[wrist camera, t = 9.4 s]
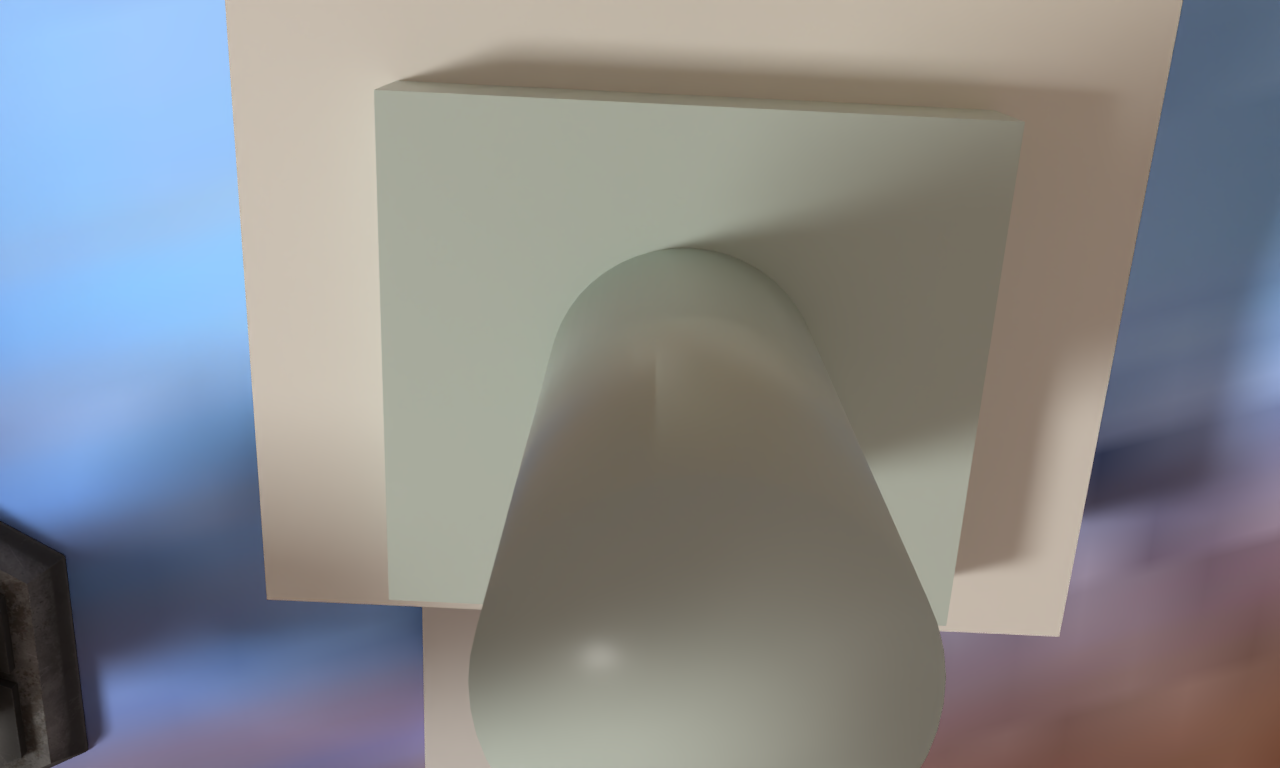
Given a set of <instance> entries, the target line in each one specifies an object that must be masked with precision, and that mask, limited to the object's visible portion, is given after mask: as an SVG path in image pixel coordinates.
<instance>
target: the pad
mask: <svg viewBox="0 0 1280 768" xmlns="http://www.w3.org/2000/svg"><path fill="white" fill-rule="evenodd" d="M480 613H481V610H479V609H458V608H436V607H422V620H423V674H424V728H425V768H491V766H490V765H489V763H488V761H487V760H486V757H485V755H484V752H483V750H482V747H481V745H480V742H479V740H478V737H477V735H476V731H475V727H474V722H473V718H472V714H471V709H470V699H469V686H468V677H469V664H470V654H471V649H472V645H473V641H474V636H475V632H476V628H477V624H478V620H479V617H480Z"/></svg>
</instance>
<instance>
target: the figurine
mask: <svg viewBox="0 0 1280 768" xmlns="http://www.w3.org/2000/svg"><path fill="white" fill-rule="evenodd" d="M87 750H88V744H87V736H86V727H85V719H84V710H83V702H82V694H81V685H80V677H79V668H78V660H77V652H76V643H75V635H74V626H73V618H72V609H71V601H70V593H69V584H68V576H67V567H66V559H65V556H64V555H62V554H61V553H59V552H57V551H55V550H53V549H51V548H49V547H48V546H46V545H44V544H42V543H40V542H38V541H36V540H35V539H33V538H31V537H29V536H27V535H25V534H23V533H22V532H20V531H18V530H16V529H14V528H12V527H10V526H9V525H7V524H5V523H3V522H1V521H0V768H51V767H53V766H55V765H57V764H60V763H62V762H64V761H66V760H68V759H71V758H73V757H75V756H77V755H80V754H82V753H84V752H86V751H87Z"/></svg>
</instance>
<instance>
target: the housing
mask: <svg viewBox="0 0 1280 768" xmlns="http://www.w3.org/2000/svg"><path fill="white" fill-rule="evenodd" d="M1182 2H1183V0H225V6H226V20H227V35H228V49H229V63H230V78H231V92H232V106H233V121H234V135H235V149H236V164H237V178H238V192H239V206H240V221H241V235H242V249H243V264H244V278H245V292H246V307H247V321H248V335H249V350H250V364H251V378H252V393H253V407H254V421H255V436H256V450H257V464H258V479H259V493H260V507H261V522H262V536H263V550H264V565H265V579H266V593H267V600H287V601H308V602H330V603H351V604H372V605H394V606H415V607H436V608H458V609H479V610H481V609H482V606H483V604H467V603H446V602H425V601H403V600H389V584H388V550H387V516H386V482H385V448H384V414H383V380H382V346H381V312H380V278H379V244H378V210H377V176H376V142H375V108H374V90H375V89H377V88H380V87H382V86H384V85H387V84H389V83H392V82H394V81H416V82H437V83H457V84H477V85H497V86H518V87H538V88H558V89H578V90H599V91H619V92H639V93H659V94H679V95H700V96H720V97H740V98H760V99H781V100H801V101H821V102H841V103H861V104H882V105H902V106H922V107H942V108H963V109H983V110H996V111H998V112H1001V113H1003V114H1006V115H1009V116H1011V117H1014V118H1016V119H1019V120H1021V121H1024V122H1025V125H1024V131H1023V138H1022V144H1021V151H1020V157H1019V163H1018V170H1017V176H1016V183H1015V189H1014V195H1013V202H1012V208H1011V215H1010V221H1009V227H1008V234H1007V240H1006V247H1005V253H1004V259H1003V266H1002V272H1001V279H1000V285H999V291H998V298H997V304H996V311H995V317H994V323H993V330H992V336H991V343H990V349H989V355H988V362H987V368H986V375H985V381H984V387H983V394H982V400H981V407H980V413H979V419H978V426H977V432H976V439H975V445H974V451H973V458H972V464H971V471H970V477H969V483H968V490H967V496H966V503H965V509H964V515H963V522H962V528H961V535H960V541H959V547H958V554H957V560H956V567H955V573H954V579H953V586H952V592H951V599H950V605H949V611H948V618H947V624H946V626H938V627H939V631H950V632H971V633H992V634H1014V635H1035V636H1056V637H1059V634H1060V629H1061V624H1062V619H1063V614H1064V609H1065V604H1066V598H1067V593H1068V588H1069V583H1070V578H1071V573H1072V568H1073V562H1074V557H1075V552H1076V547H1077V542H1078V537H1079V532H1080V527H1081V521H1082V516H1083V511H1084V506H1085V501H1086V496H1087V491H1088V485H1089V480H1090V475H1091V470H1092V465H1093V460H1094V455H1095V449H1096V444H1097V439H1098V434H1099V429H1100V424H1101V419H1102V413H1103V408H1104V403H1105V398H1106V393H1107V388H1108V383H1109V378H1110V372H1111V367H1112V362H1113V357H1114V352H1115V347H1116V342H1117V336H1118V331H1119V326H1120V321H1121V316H1122V311H1123V306H1124V300H1125V295H1126V290H1127V285H1128V280H1129V275H1130V270H1131V264H1132V259H1133V254H1134V249H1135V244H1136V239H1137V234H1138V229H1139V223H1140V218H1141V213H1142V208H1143V203H1144V198H1145V193H1146V187H1147V182H1148V177H1149V172H1150V167H1151V162H1152V157H1153V151H1154V146H1155V141H1156V136H1157V131H1158V126H1159V121H1160V115H1161V110H1162V105H1163V100H1164V95H1165V90H1166V85H1167V80H1168V74H1169V69H1170V64H1171V59H1172V54H1173V49H1174V44H1175V38H1176V33H1177V28H1178V23H1179V18H1180V13H1181V8H1182Z"/></svg>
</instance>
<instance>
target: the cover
mask: <svg viewBox="0 0 1280 768" xmlns="http://www.w3.org/2000/svg"><path fill="white" fill-rule="evenodd" d="M374 108H375V142H376V176H377V210H378V244H379V278H380V312H381V346H382V380H383V414H384V448H385V482H386V516H387V550H388V584H389V600H403V601H425V602H446V603H467V604H483V606H482V609H481V613H480V617H479V620H478V624H477V628H476V632H475V636H474V641H473V645H472V649H471V654H470V664H469V677H468V686H469V699H470V709H471V714H472V718H473V722H474V727H475V731H476V735H477V737H478V740H479V742H480V745H481V747H482V750H483V752H484V755H485V757H486V760H487V761H488V763H489V765H490V766H491V768H920V767H921V765H922V764H923V762H924V760H925V758H926V757H927V755H928V752H929V750H930V747H931V745H932V742H933V740H934V737H935V735H936V732H937V730H938V726H939V721H940V717H941V713H942V709H943V704H944V693H945V681H946V673H945V660H944V649H943V645H942V640H941V636H940V632H939V627H938V626H946V624H947V618H948V611H949V605H950V599H951V592H952V586H953V579H954V573H955V567H956V560H957V554H958V547H959V541H960V535H961V528H962V522H963V515H964V509H965V503H966V496H967V490H968V483H969V477H970V471H971V464H972V458H973V451H974V445H975V439H976V432H977V426H978V419H979V413H980V407H981V400H982V394H983V387H984V381H985V375H986V368H987V362H988V355H989V349H990V343H991V336H992V330H993V323H994V317H995V311H996V304H997V298H998V291H999V285H1000V279H1001V272H1002V266H1003V259H1004V253H1005V247H1006V240H1007V234H1008V227H1009V221H1010V215H1011V208H1012V202H1013V195H1014V189H1015V183H1016V176H1017V170H1018V163H1019V157H1020V151H1021V144H1022V138H1023V131H1024V125H1025V122H1024V121H1021V120H1019V119H1016V118H1014V117H1011V116H1009V115H1006V114H1003V113H1001V112H998V111H996V110H983V109H963V108H942V107H922V106H902V105H882V104H861V103H841V102H821V101H801V100H781V99H760V98H740V97H720V96H700V95H679V94H659V93H639V92H619V91H599V90H578V89H558V88H538V87H518V86H497V85H477V84H457V83H437V82H416V81H394V82H392V83H389V84H387V85H384V86H382V87H380V88H377V89H375V90H374Z"/></svg>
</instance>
